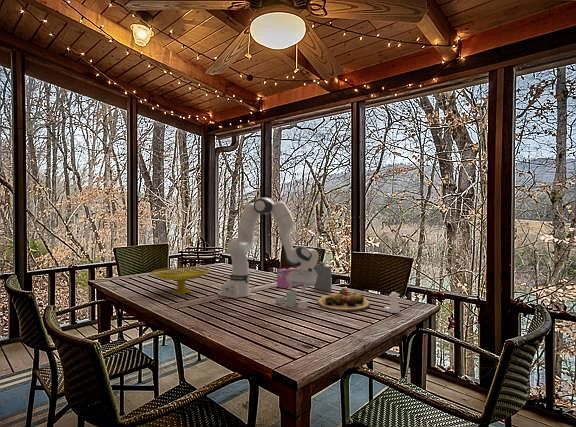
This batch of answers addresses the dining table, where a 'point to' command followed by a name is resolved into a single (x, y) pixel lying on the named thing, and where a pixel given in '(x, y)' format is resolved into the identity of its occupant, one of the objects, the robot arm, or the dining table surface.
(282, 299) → the grey block
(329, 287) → the hip flask
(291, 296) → the sage-green pillar
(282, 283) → the gum box
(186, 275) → the cake stand
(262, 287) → the dining table surface
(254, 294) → the dining table surface
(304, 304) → the cream block
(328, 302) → the wooden plate with food
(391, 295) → the seated beast figurine
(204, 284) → the dining table surface
